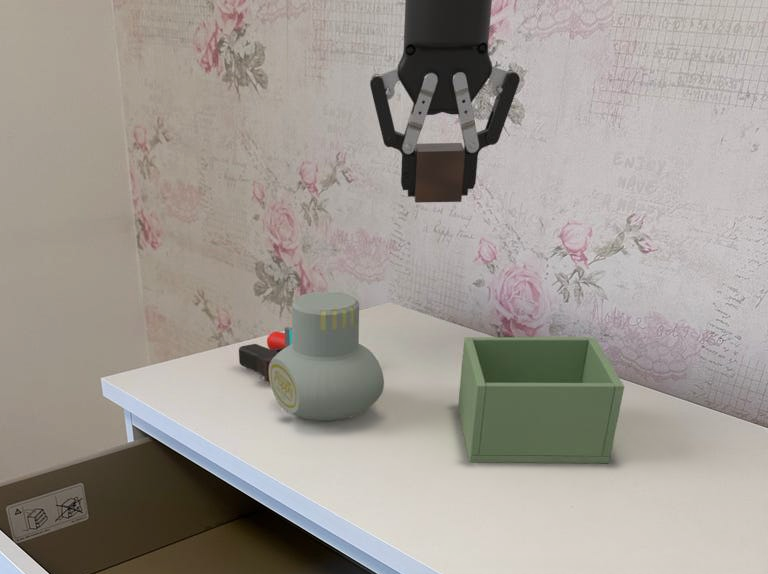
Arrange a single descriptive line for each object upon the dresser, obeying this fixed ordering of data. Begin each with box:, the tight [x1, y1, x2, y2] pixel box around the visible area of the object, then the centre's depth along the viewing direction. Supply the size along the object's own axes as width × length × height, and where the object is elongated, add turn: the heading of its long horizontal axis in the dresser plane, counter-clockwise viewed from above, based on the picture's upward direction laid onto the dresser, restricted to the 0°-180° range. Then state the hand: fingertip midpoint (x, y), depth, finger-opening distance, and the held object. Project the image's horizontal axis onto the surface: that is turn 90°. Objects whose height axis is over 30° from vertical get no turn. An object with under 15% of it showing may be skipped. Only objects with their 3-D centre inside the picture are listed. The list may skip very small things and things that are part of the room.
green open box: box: [457, 336, 625, 464], centre depth 81 cm, size 11×11×7 cm
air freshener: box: [268, 291, 385, 422], centre depth 85 cm, size 11×8×10 cm
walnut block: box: [413, 142, 465, 204], centre depth 91 cm, size 4×4×4 cm
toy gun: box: [238, 326, 292, 383], centre depth 96 cm, size 10×12×5 cm
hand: (436, 193), depth 92 cm, fingers closed on walnut block, 4 cm apart
